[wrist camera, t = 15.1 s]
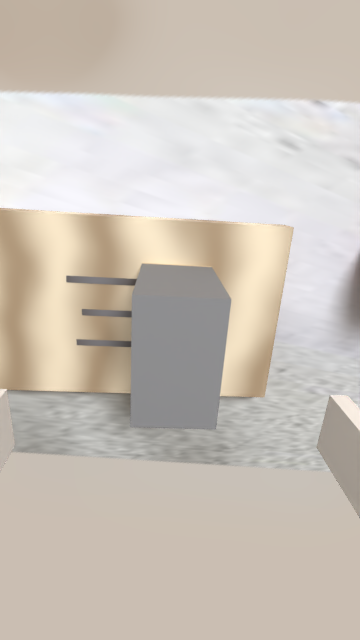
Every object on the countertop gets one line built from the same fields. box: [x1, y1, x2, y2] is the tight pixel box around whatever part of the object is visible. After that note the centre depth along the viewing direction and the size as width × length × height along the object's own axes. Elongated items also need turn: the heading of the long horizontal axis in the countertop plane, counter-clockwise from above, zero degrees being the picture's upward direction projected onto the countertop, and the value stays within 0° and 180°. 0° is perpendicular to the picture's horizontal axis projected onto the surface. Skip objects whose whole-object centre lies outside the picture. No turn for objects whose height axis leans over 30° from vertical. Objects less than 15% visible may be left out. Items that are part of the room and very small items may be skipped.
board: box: [0, 208, 294, 397], centre depth 26 cm, size 28×14×2 cm, turn 87°
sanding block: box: [130, 263, 231, 429], centre depth 22 cm, size 8×5×8 cm, turn 177°
